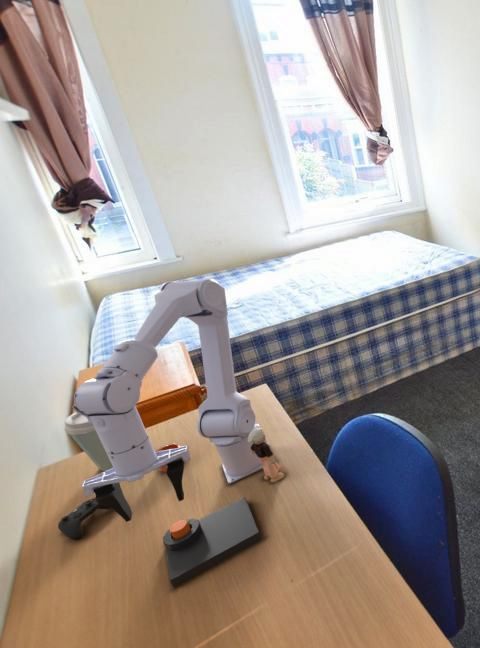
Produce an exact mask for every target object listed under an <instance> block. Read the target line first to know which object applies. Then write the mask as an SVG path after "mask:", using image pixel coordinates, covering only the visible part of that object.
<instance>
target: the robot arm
mask: <svg viewBox="0 0 480 648" xmlns="http://www.w3.org/2000/svg"><path fill="white" fill-rule="evenodd" d="M158 289H159V290H157V292H155V294H154V302H155V304H154V305H153V307H152V309H151V311H150V312H149V314H148V315H147V317H146V318H145V320H144V321H143V324H142V325H141V326H140V328H139V330H138V331H137V333H136V334H135V336H134V338H133V339H126V340H123V341H121V342H120V343H117V344H116V345H115V346H114V348H113V350H114V351H113V352H112V354H111V356H109V358H108V359H107V360H106V362H105V363H104V364H103V365H102V367H101V368H99V370H98V371H97V372H96V375H95V376H94V378H90V379H88V380H86V381H84V382H82V383H81V384H80V386H78V388H77V389H76V390H75V392H74V395H73V403H74V404H73V405H72V407H71V408H72V409H73V411H74V413H75V412H77V413H78V414H80V415H83V416H85V417H86V418H87V419H88V421H89V423H90V424H92V425H94V428H95V430H96V432H97V434H98V436H99V438H100V440H101V442H102V445H103V447H104V449H105V451H106V453H107V455H108V457H109V459H110V461H111V464H112V466H113V468H112V469H110V470H107V471H103V472H101V473H99V474H97V475H94V476H92V477H90V478H87V479H84V480H83V482H82V485H81V489H82V491H83V493H84V495H85V496H86V497H88V496H91V495H94V494H95V495H94V496H95V497H94V498H95V500H96V502H97V503H99V504H102V505H105V506H107V507H109V508H111V509H110V510H112V511H114V512H115V513H117V514H118V515H119V516H120V517H121V518H122V519H123V520H124V521H125V522H126V523H127V522H130V521H132V517H133V511H132V508H131V506H130V505H129V503H128V501H127V499H126V497H125V495H124V492H123V489H122V487H121V484H120V483H122V482H128V483H133V482H136V481H139V480H141V479H143V478H145V475H147V474H149V473H151V472H153V471H156V470H158V469H159V468H162V467H165V466H167V472H166V476H167V478H168V480H169V481H170V483H171V485H172V487H173V489H174V493H175V496H176V498H177V500H178V502H182V501H184V500H185V493H184V492H185V491H184V488H183V487H184V486H183V475H184V470H185V462H187V461H190V460H191V451H190V449H189V446H188V445H183V446H180V447H179V448H175V449H170V450H165V451H160V452H155V451H156V450H155V448H154V446H153V443H152V441H151V440H150V437H149V435H148V432H147V430H146V427H145V425H144V422H143V420H142V417H141V415H140V413H139V411H138V408H137V404H138V403H139V401H140V398H141V388H142V386H143V384H142V383H143V379H144V378H145V376H146V375H147V374H148V373H149V371H150V369H151V368H152V366H153V365H154V363H155V362H156V360H157V359H158V356H159V354H158V351H157V349H156V347H158V345H159V344H160V343H161V342H162V340H163V339H164V338H165V337H166V336H167V334H168V333H169V332H170V330H171V329H173V327H174V326H175V324H177V322H178V321H179V320H180V319H181V318H185V319H188V320H190V321H191V322H193V323H194V324H196V325H197V327H198V335H199V342H200V348H201V351H200V352H201V356H202V357H201V358H202V364H203V373H204V381H205V388H206V395H207V398H206V399H204V401H203V402H202V403H200V405H199V406H198V408H197V409H198V419H197V422H196V423H197V424H196V427H197V432H198V434H199V435H200V436H201V437H202V438H205V439H209V443H213V444H214V446H215V448H216V451H217V453H218V456H219V458H220V460H221V462H222V465H221V467H222V470H223V473H224V475H225V478H226V481H227V483H228V485H231V484H234V483H236V482H237V481H239V480H241V479H244V478H246V477H248V476H250V475H252V474H254V473H256V472H258V471H261V470H263V467H262V464H261V461H260V459H259V457H258V456H257V455H256V454H252V450H251V446H252V444H253V442H251V443H249V442H248V437H249V434H250V433H251V431H252V430H254V429H255V428H261V429H262V427H261V426H260V424H259V422H258V423H256V414H255V411H254V409H253V408H252V405H251V400H250V399H249V398H248V397H246V396H245V395H243V394H241V393H239V392H238V391H237V385H236V376H235V368H234V361H233V353H232V346H231V345H232V344H231V338H230V328H229V321H228V320H229V319H228V305H227V298H226V290H225V287H223V285H221V284H220V283H219V282H218V281H217V280H215V279H213V278H206V279H196V280H185V281H184V280H183V281H166V282H164V283H162V284H161V286H160V287H159V288H158ZM264 442H265V443H267V444H268V445H269V447H270V444H269V442H267V439H266V438H265V441H264ZM270 450H271V451H272V449H271V447H270Z"/></svg>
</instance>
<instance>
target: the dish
mask: <svg viewBox="0 0 480 648" xmlns="http://www.w3.org/2000/svg"><path fill="white" fill-rule="evenodd" d="M179 447H181V446H180V444H179V443H169V444H166V445H164V446H161V447H160V448H158V449H157V450H155V452H160V451H165V450H170V449H175V448H179ZM157 470H158V471H160V472H164V473H165V472H166V473H167V466H165V467H162V468H159V469H157Z"/></svg>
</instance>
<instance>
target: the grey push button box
mask: <svg viewBox="0 0 480 648" xmlns="http://www.w3.org/2000/svg"><path fill="white" fill-rule="evenodd" d="M186 520H187V522H188V524H189V526H190V531H189V532H188V533H187V534H186V535H185V536H183V537H181V538H178V539H175V538H173V536H172V534H171V532H170V528H169V529H167V530H166V531H165V533H164V535H163V537H162V543H163V545H164V547H165V554H166V561H167V569H168V575H169V581H170V584H171V585H172V587H173V588H174V589H175V588H177V587H178V586H180V585H182V584H184V583H186V582H188V581H190V580H192V579H193V578H195V577H196V576H198V575H200V574H202V573H203V572H206V571H207V570H209V569H211V568H213V567H215V566H216V565H218V564H220V563H222V562H224V561H226V560H228V559H229V558H231V557H233V556H235V555H236V554H238V553H240V552H241V551H244V550H245V549H247V548H249V547H251V546H253V545H254V544H257V543H258V542H260V541H261V540H262V539H263V538H262V536H261V534H260V531H259V528H258V525H257V523H256V520H255V518H254V516H253V512H252V510H251V508H250V505H249V503H248V500H247V497H246V496H244V497H242V498H240V499H238V500H236V501H233V502H231V503H229V504H228V505H226V506H224V507H221V508H219V509H217V510H216V511H214V512H211V513H210V514H208V515H205V516H204V517H202V518H199V519H196V518H192V517H191V518H187V519H186Z"/></svg>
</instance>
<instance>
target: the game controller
mask: <svg viewBox="0 0 480 648" xmlns="http://www.w3.org/2000/svg"><path fill="white" fill-rule="evenodd" d="M97 510H112V509H111V508H109V507H107V506H105V505H102V504H99V503H97V502H96V500H95V497H94V498H89V499H87V500H85V501H83V502H82V503H81V504H80V505H79V506H77V507H76V508H75V509H73V510H72V511H70V513H68V514H67V515H64V516H63V517H61V519H60V520H59V522H58V524H57V528H58V530H59V532H61V533H62V534H63V535H64V536H65V537H67V538H68V539H70V540H73V541H78V540H81V539H83V537H84V531H83V528H82V527H83V526H82V522H83V521H85V520H86V519H88V518H89V517H90V516H91V515H93V514H94V513H95V512H96V511H97Z"/></svg>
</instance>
